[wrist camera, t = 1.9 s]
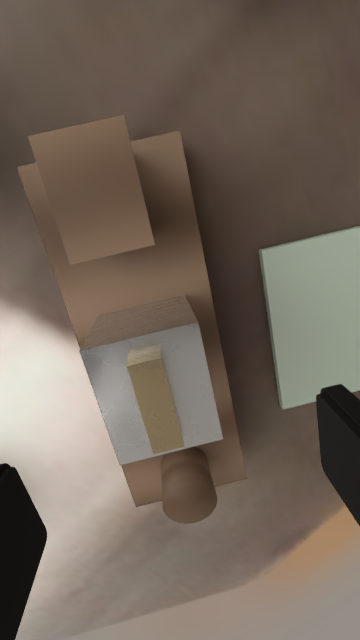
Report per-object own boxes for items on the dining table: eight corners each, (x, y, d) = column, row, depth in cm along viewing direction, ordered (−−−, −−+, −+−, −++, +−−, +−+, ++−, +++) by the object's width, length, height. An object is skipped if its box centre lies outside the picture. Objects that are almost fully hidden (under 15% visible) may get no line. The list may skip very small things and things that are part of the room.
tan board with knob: (235, 449, 25) (281, 567, 17) (137, 474, 25) (132, 607, 16) (174, 144, 18) (199, 78, 10) (36, 175, 18) (-62, 135, 9)
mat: (403, 373, 25) (410, 377, 24) (279, 405, 24) (282, 409, 24) (405, 214, 21) (412, 214, 20) (258, 249, 21) (261, 250, 20)
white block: (204, 386, 20) (227, 450, 14) (126, 405, 20) (118, 478, 14) (184, 294, 18) (201, 328, 12) (97, 315, 18) (75, 359, 12)
